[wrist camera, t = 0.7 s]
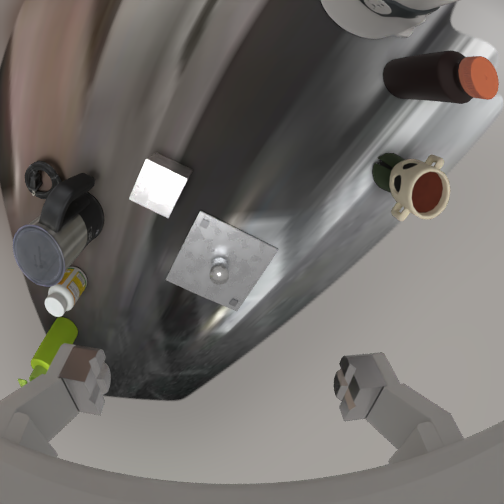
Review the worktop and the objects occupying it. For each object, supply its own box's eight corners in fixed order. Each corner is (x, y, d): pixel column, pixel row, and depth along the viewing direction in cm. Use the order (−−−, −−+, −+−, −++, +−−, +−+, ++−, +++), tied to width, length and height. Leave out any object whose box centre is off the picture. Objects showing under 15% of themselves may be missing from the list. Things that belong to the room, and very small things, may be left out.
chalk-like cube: (156, 152, 43) (146, 158, 38) (192, 169, 44) (187, 179, 39) (140, 187, 45) (128, 199, 40) (175, 205, 47) (168, 218, 42)
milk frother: (103, 245, 49) (67, 294, 36) (32, 230, 47) (-13, 270, 33) (108, 164, 43) (63, 191, 30) (31, 155, 41) (-24, 179, 27)
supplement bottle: (90, 273, 51) (70, 304, 43) (84, 294, 53) (65, 325, 45) (66, 260, 50) (43, 288, 41) (61, 281, 52) (40, 310, 43)
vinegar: (416, 102, 41) (502, 115, 23) (380, 94, 40) (462, 98, 22) (418, 65, 38) (504, 61, 20) (383, 54, 37) (464, 38, 19)
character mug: (390, 132, 43) (437, 144, 31) (418, 158, 45) (465, 178, 33) (353, 184, 47) (390, 212, 35) (383, 208, 49) (422, 240, 37)
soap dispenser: (71, 313, 55) (32, 384, 37) (81, 338, 58) (48, 409, 40) (50, 312, 55) (8, 378, 37) (60, 336, 58) (26, 403, 40)
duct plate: (200, 210, 47) (197, 219, 44) (277, 248, 51) (281, 260, 48) (166, 278, 52) (161, 291, 49) (237, 309, 56) (237, 323, 53)
